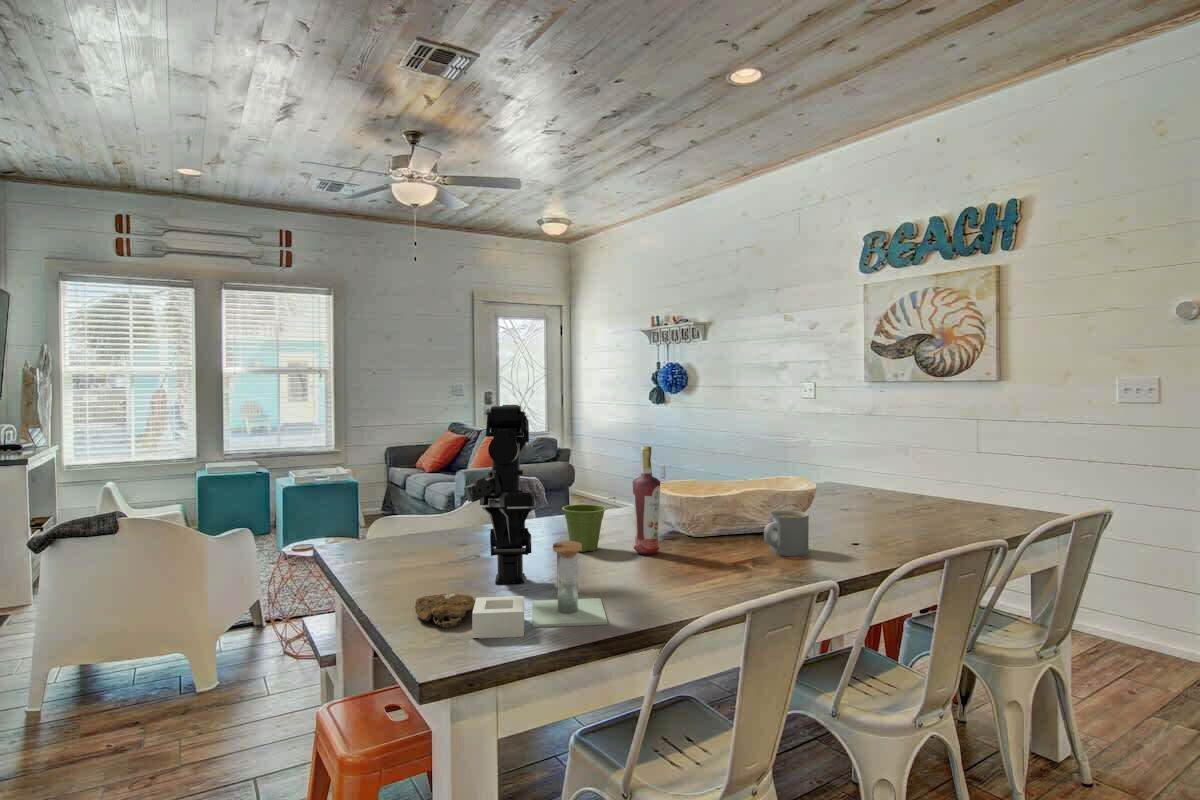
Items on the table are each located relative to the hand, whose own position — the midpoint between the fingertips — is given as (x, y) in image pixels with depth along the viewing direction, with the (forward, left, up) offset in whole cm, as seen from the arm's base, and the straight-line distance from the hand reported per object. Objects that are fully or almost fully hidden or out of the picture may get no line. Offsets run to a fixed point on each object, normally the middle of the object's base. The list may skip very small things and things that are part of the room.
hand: (505, 541), depth 143 cm
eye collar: (+16, -1, -12) cm, 20 cm away
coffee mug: (-33, +71, -13) cm, 80 cm away
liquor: (-36, +35, -13) cm, 52 cm away
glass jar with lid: (+9, +12, -12) cm, 19 cm away
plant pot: (-42, +19, -13) cm, 48 cm away
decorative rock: (+8, -11, -13) cm, 19 cm away
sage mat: (+9, +12, -12) cm, 20 cm away
